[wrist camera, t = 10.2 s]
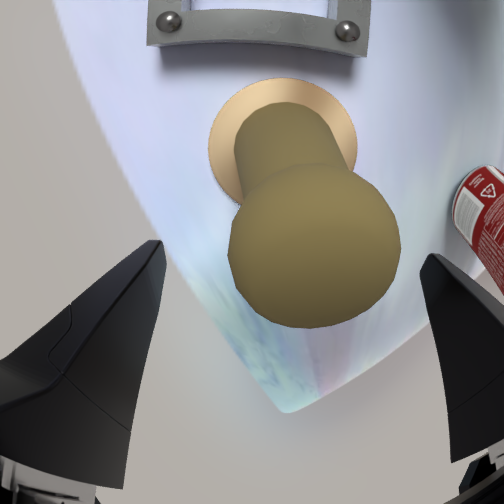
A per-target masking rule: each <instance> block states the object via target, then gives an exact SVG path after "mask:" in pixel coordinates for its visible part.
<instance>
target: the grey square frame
mask: <svg viewBox="0 0 504 504" xmlns="http://www.w3.org/2000/svg"><path fill="white" fill-rule="evenodd" d="M190 7H191V0H149V1H148V17H147V46H154V47H163V46H172V45H182V44H195V43H222V42H235V43H262V44H275V45H286V46H295V47H302V48H309V49H315V50H321V51H327V52H332V53H337V54H342V55H346V56H351V57H367V48H368V38H369V26H370V11H371V0H329V1H328V16H327V18H324V17H319V16H313V15H307V14H300V13H292V12H283V11H273V10H258V9H209V10H194V11H190Z"/></svg>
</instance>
